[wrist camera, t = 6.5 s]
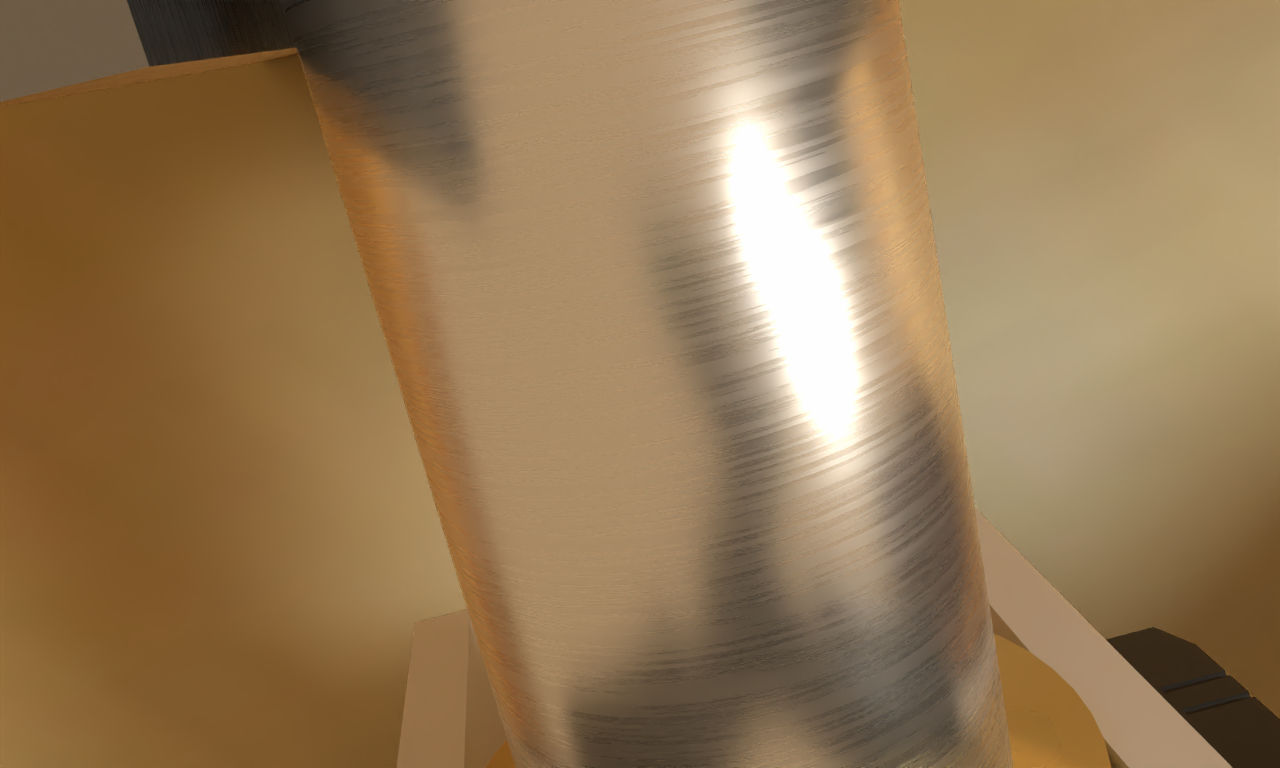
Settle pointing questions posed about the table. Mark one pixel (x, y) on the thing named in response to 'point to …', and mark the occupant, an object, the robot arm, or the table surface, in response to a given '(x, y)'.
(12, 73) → the square shaft housing
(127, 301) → the table surface
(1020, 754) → the tube
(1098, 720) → the robot arm
